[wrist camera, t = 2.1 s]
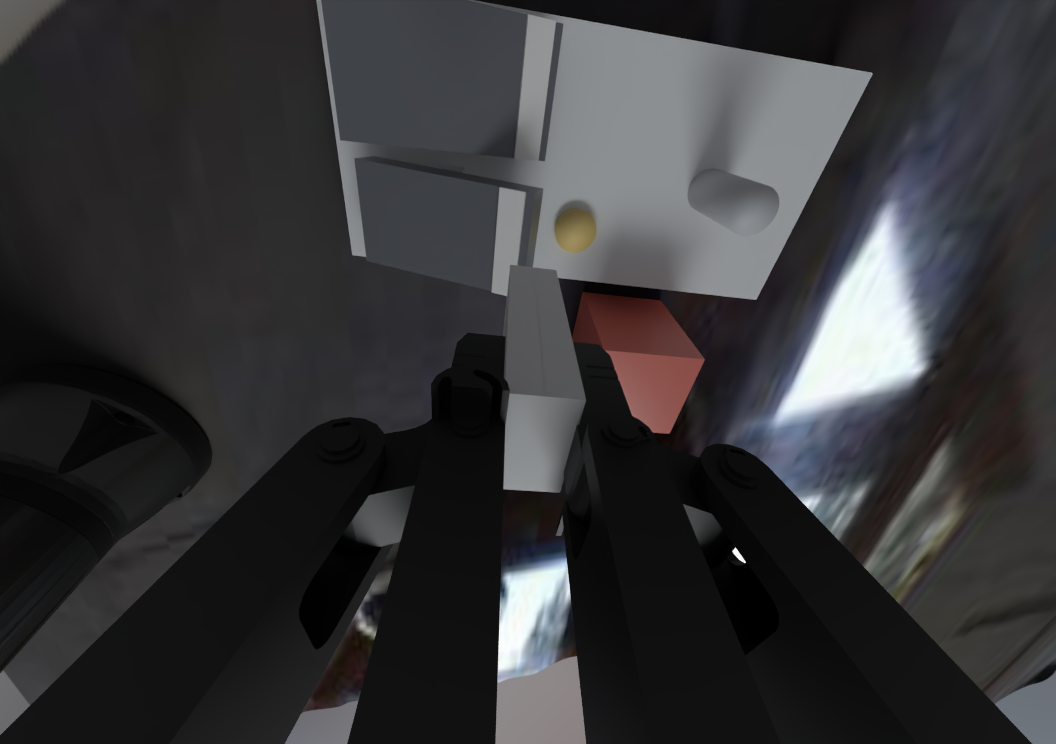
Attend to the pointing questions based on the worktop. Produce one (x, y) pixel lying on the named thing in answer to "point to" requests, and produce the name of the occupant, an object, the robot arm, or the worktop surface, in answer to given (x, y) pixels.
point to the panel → (659, 158)
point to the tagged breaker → (446, 222)
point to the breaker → (443, 75)
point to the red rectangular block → (642, 353)
